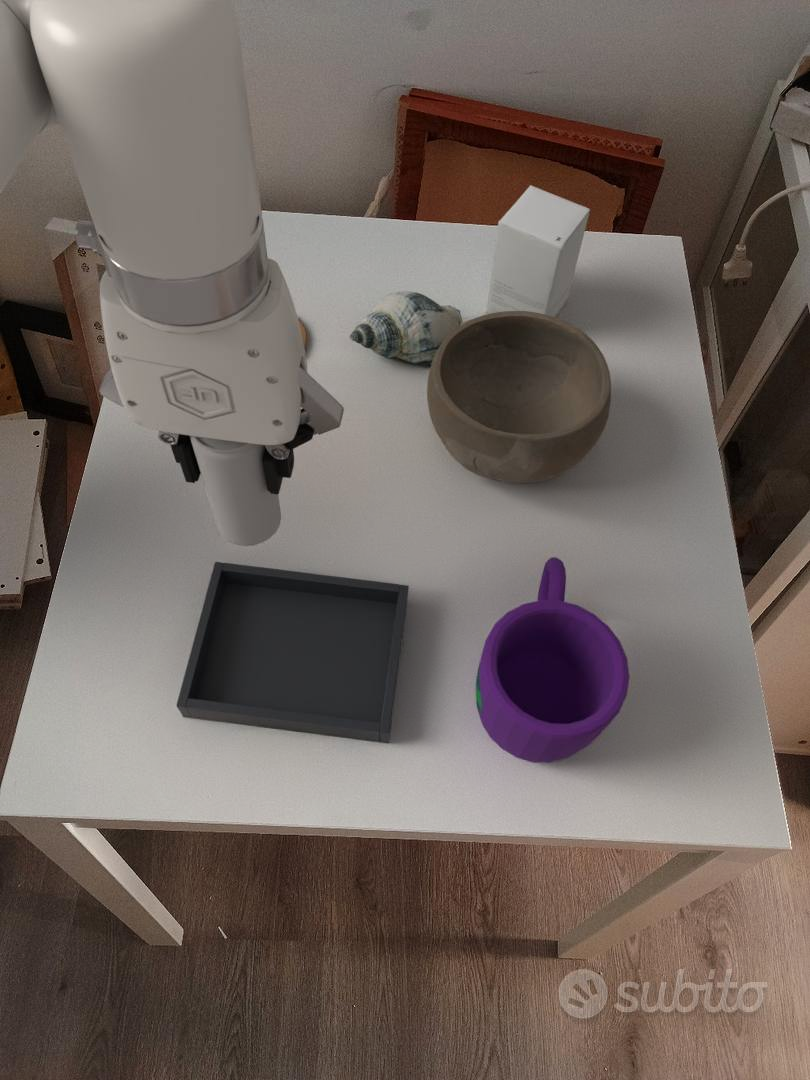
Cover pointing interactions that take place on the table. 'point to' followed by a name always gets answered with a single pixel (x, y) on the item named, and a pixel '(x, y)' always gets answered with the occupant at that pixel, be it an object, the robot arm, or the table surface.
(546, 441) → the bowl
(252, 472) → the beverage can
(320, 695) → the tray
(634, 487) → the table surface
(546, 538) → the table surface
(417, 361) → the seashell
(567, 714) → the mug
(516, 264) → the white packaging box
